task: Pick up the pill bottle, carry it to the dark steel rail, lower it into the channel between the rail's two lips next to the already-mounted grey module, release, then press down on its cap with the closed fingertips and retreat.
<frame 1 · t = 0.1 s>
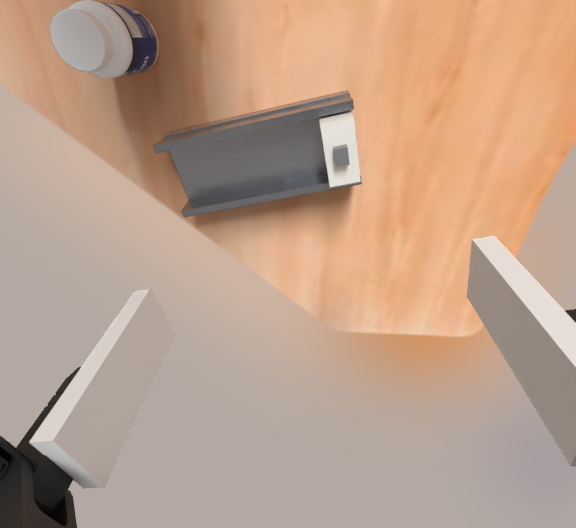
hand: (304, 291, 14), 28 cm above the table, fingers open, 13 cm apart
pill bottle: (134, 41, 33), on the table
mounted module: (336, 136, 37), resting on rail
rail: (264, 151, 38), on the table
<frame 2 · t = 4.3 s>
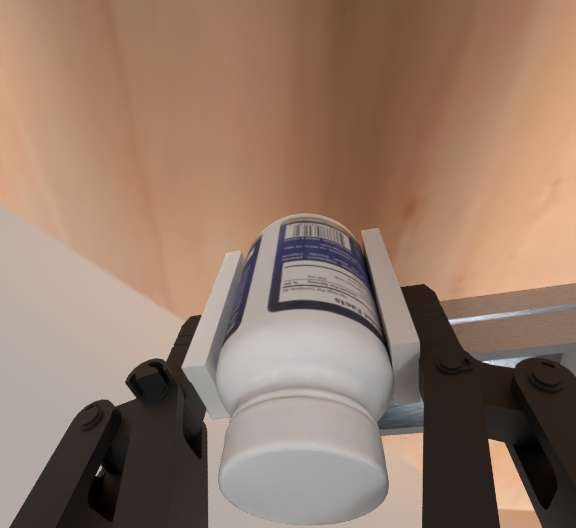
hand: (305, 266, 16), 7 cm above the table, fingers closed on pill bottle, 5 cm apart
pill bottle: (305, 259, 16), point 7 cm above the table, touching gripper
mounted module: (568, 327, 26), resting on rail
rail: (455, 340, 27), on the table
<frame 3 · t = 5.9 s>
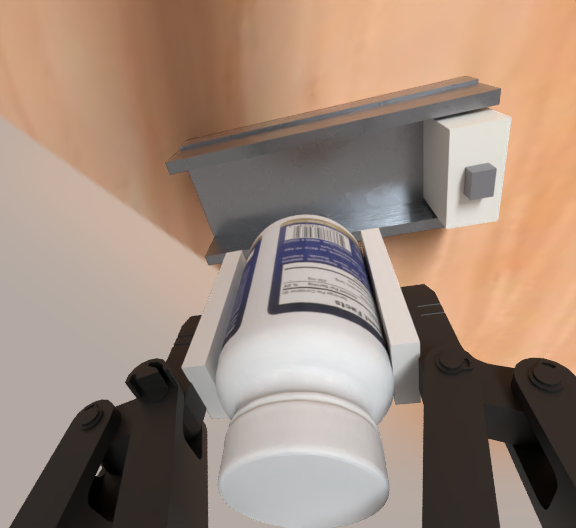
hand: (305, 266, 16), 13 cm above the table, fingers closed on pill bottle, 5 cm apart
pill bottle: (305, 261, 16), point 13 cm above the table, touching gripper
mounted module: (436, 145, 25), resting on rail
rail: (326, 167, 26), on the table
when the fingers open (3 cm above the table, at t = 7.9 s): pill bottle stays where it is, resting on rail.
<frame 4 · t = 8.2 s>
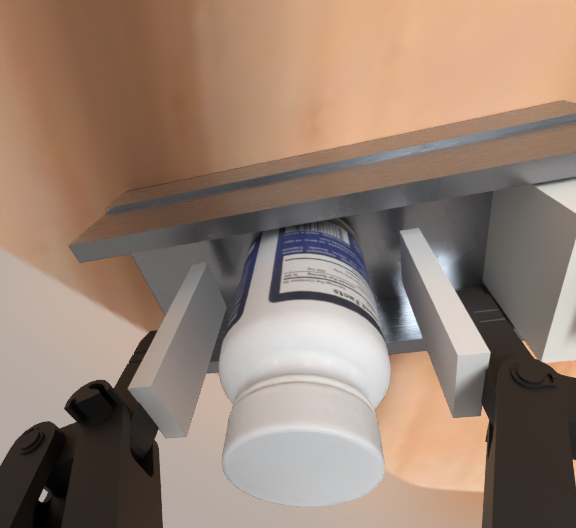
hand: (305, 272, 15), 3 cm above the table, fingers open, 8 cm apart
pill bottle: (305, 254, 16), point 2 cm above the table, touching rail
mounted module: (503, 203, 16), resting on rail
rail: (333, 231, 18), on the table
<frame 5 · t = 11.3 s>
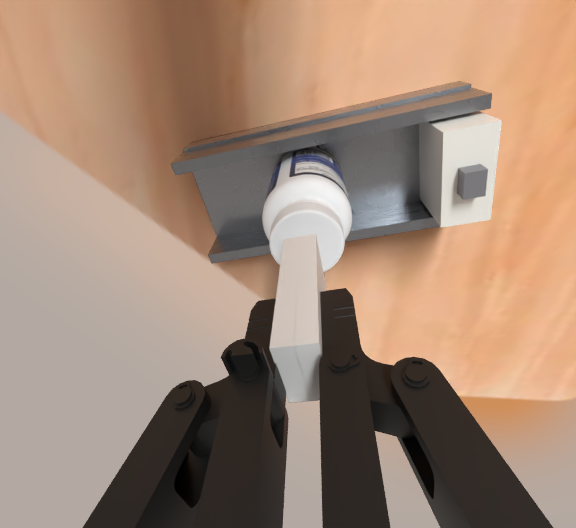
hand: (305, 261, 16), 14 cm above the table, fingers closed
pill bottle: (307, 180, 26), point 2 cm above the table, touching rail
mounted module: (432, 148, 26), resting on rail
rail: (325, 169, 27), on the table
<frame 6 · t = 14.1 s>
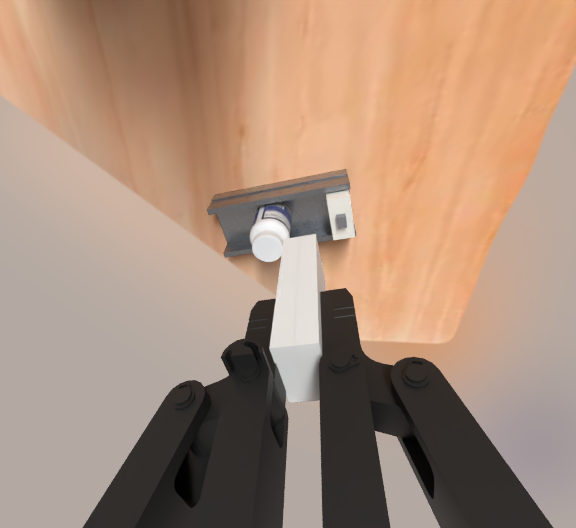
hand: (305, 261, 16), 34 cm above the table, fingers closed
pill bottle: (274, 215, 51), point 2 cm above the table, touching rail
mounted module: (337, 198, 50), resting on rail
rail: (284, 208, 52), on the table
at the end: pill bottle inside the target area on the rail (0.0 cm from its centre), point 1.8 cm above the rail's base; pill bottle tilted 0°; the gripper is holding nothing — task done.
